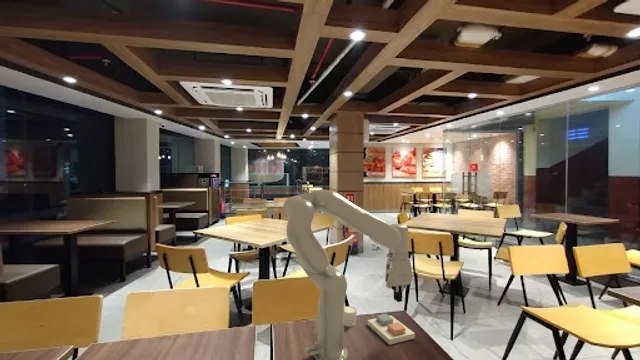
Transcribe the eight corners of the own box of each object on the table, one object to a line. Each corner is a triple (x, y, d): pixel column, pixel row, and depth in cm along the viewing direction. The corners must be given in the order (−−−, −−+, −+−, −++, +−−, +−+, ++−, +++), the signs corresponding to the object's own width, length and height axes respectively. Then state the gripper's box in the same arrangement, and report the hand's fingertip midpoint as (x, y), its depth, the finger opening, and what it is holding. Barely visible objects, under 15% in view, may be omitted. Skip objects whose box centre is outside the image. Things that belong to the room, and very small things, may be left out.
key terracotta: (394, 336, 118) (395, 330, 118) (387, 330, 123) (387, 324, 123) (405, 334, 120) (405, 328, 120) (397, 327, 125) (397, 322, 124)
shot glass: (355, 330, 127) (356, 314, 127) (339, 328, 128) (340, 312, 128) (357, 322, 134) (357, 306, 134) (341, 320, 135) (342, 305, 135)
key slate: (383, 326, 125) (383, 321, 125) (376, 321, 130) (376, 315, 130) (393, 324, 127) (393, 318, 127) (386, 319, 132) (386, 313, 132)
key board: (389, 347, 115) (389, 339, 115) (367, 326, 130) (367, 319, 130) (414, 340, 120) (414, 333, 120) (390, 321, 135) (390, 315, 135)
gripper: (388, 260, 114) (387, 308, 115) (419, 255, 120) (419, 301, 120) (377, 254, 121) (376, 300, 122) (407, 250, 127) (406, 293, 127)
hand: (397, 300), depth 121 cm, fingers closed
